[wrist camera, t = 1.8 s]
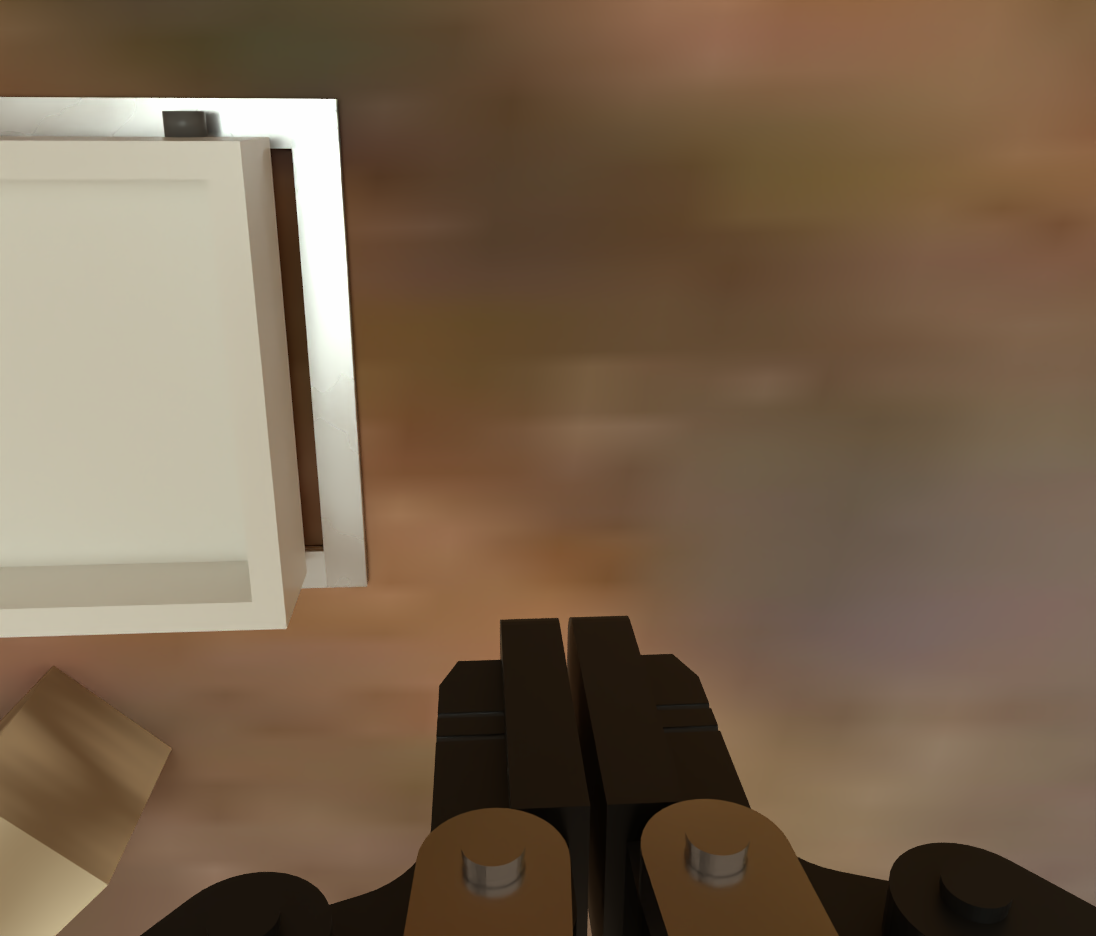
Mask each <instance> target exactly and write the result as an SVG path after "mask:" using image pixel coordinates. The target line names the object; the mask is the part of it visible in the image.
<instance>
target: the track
mask: <svg viewBox="0 0 1096 936" xmlns="http://www.w3.org/2000/svg"><path fill="white" fill-rule="evenodd" d="M162 111H205V116H206V126H207V135H208V137H269V141H270V148H278V149H292V155H293V168H294V181H295V193H296V206H297V218H298V231H299V244H300V256H301V269H302V281H303V294H304V307H305V319H306V332H307V344H308V357H309V370H310V382H311V395H312V407H313V420H314V433H315V445H316V458H317V470H318V483H319V496H320V508H321V521H322V533H323V546H305V557H306V569H307V574H306V576H305V579H304V582H303V585H302V588H331V587H367V584H368V567H367V552H366V536H365V520H364V504H363V488H362V472H361V457H360V441H359V425H358V409H357V393H356V377H355V362H354V346H353V330H352V314H351V298H350V283H349V267H348V251H347V235H346V219H345V203H344V188H343V172H342V156H341V140H340V124H339V108H338V99H232V98H70V97H0V136H108V137H165V134H164V126H163V117H162Z"/></svg>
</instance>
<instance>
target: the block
mask: <svg viewBox="0 0 1096 936" xmlns="http://www.w3.org/2000/svg"><path fill="white" fill-rule="evenodd" d="M171 749H172V748H171V747H169V746H168V745H166V744H165V743H163V742H162V741H161V740H159V739H158V738H156V737H155V736H153V735H152V734H151V733H149V732H148V731H146V730H145V729H143V728H142V727H141V726H139V725H138V724H136V723H135V722H133V721H132V720H131V719H129V718H128V717H126V716H125V715H123V714H122V713H121V712H119V711H118V710H116V709H115V708H113V707H112V706H111V705H109V704H108V703H106V702H105V701H103V700H102V699H101V698H99V697H98V696H96V695H95V694H93V693H92V692H90V691H89V690H88V689H86V688H85V687H83V686H82V685H80V684H79V683H78V682H76V681H75V680H73V679H72V678H70V677H69V676H68V675H66V674H65V673H63V672H62V671H60V670H59V669H58V668H56V667H55V666H53V667H52V668H51V669H50V670H49V671H48V672H47V673H46V674H45V675H44V676H43V677H42V678H41V679H40V680H39V681H38V682H37V684H36V685H35V686H34V687H33V688H32V689H31V690H30V691H29V692H28V693H27V694H26V695H25V696H24V697H23V698H22V699H21V700H20V701H19V702H18V703H17V704H16V705H15V707H14V708H13V709H12V710H11V711H10V712H9V713H8V714H7V715H6V716H5V717H4V718H3V719H2V720H1V721H0V936H55V935H56V934H57V933H58V932H59V931H61V930H62V929H63V928H64V927H65V926H66V925H67V924H68V923H69V922H70V921H71V920H72V919H73V918H74V917H75V916H76V915H77V914H78V913H79V912H80V911H81V910H82V909H83V908H85V907H86V906H87V905H88V904H89V903H90V902H91V901H92V900H93V899H94V898H95V897H96V896H97V895H98V894H99V893H100V892H101V891H102V890H103V889H104V888H105V887H106V886H107V885H108V884H109V882H110V880H111V878H112V875H113V873H114V871H115V869H116V867H117V865H118V863H119V860H120V858H121V856H122V854H123V852H124V850H125V848H126V846H127V843H128V841H129V839H130V837H131V835H132V833H133V831H134V828H135V826H136V824H137V822H138V820H139V818H140V816H141V813H142V811H143V809H144V807H145V805H146V803H147V801H148V799H149V796H150V794H151V792H152V790H153V788H154V786H155V784H156V781H157V779H158V777H159V775H160V773H161V771H162V769H163V766H164V764H165V762H166V760H167V758H168V756H169V754H170V752H171Z"/></svg>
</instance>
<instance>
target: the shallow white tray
mask: <svg viewBox="0 0 1096 936" xmlns="http://www.w3.org/2000/svg"><path fill="white" fill-rule="evenodd" d="M162 117H163V126H164V134H165V137H108V136H0V637H33V636H66V635H99V634H132V633H165V632H198V631H232V630H265V629H287V627H288V624H289V621H290V618H291V616H292V613H293V610H294V607H295V604H296V602H297V599H298V596H299V593H300V590H301V588H302V585H303V582H304V579H305V576H306V574H307V569H306V557H305V546H304V534H303V523H302V511H301V499H300V488H299V476H298V465H297V453H296V442H295V430H294V419H293V407H292V396H291V384H290V372H289V361H288V349H287V338H286V326H285V315H284V303H283V292H282V280H281V268H280V257H279V245H278V234H277V222H276V211H275V199H274V188H273V176H272V164H271V153H270V141H269V137H208V135H207V126H206V116H205V111H162Z"/></svg>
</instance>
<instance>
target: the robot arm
mask: <svg viewBox="0 0 1096 936" xmlns="http://www.w3.org/2000/svg"><path fill="white" fill-rule="evenodd" d="M588 911H589V918H590V925H591V932H592V936H1096V907H1095V906H1093V905H1091V904H1089V903H1087V902H1086V901H1084V900H1082V899H1080V898H1078V897H1076V896H1075V895H1073V894H1071V893H1069V892H1067V891H1065V890H1063V889H1062V888H1060V887H1058V886H1056V885H1054V884H1052V883H1050V882H1049V881H1047V880H1045V879H1043V878H1041V877H1039V876H1038V875H1036V874H1034V873H1032V872H1030V871H1028V870H1026V869H1025V868H1023V867H1021V866H1019V865H1017V864H1015V863H1013V862H1012V861H1010V860H1008V859H1006V858H1003V857H1001V856H999V855H997V854H995V853H992V852H989V851H986V850H984V849H980V848H977V847H973V846H969V845H963V844H956V843H930V844H925V845H921V846H917V847H915V848H912V849H910V850H908V851H906V852H905V853H903V854H902V855H901V856H899V858H898V859H897V860H896V861H895V862H894V864H893V866H892V868H891V871H890V876H889V881H885V880H880V879H875V878H870V877H865V876H860V875H855V874H850V873H845V872H839V871H835V870H831V869H827V868H823V867H820V866H818V865H815V864H812V863H809V862H807V861H805V860H803V859H801V858H798V857H797V856H796V854H795V852H794V850H793V848H792V847H791V845H790V843H789V841H788V839H787V838H786V836H785V835H784V833H783V832H782V831H781V830H780V829H779V828H778V827H777V826H776V825H775V824H774V823H773V822H772V821H770V820H769V819H768V818H766V817H765V816H763V815H761V814H760V813H758V812H756V811H754V810H752V809H751V808H750V805H749V803H748V800H747V798H746V795H745V792H744V790H743V787H742V785H741V782H740V780H739V777H738V775H737V772H736V770H735V767H734V765H733V762H732V760H731V757H730V755H729V752H728V750H727V747H726V745H725V742H724V740H723V737H722V735H721V732H720V731H718V724H717V722H716V719H715V717H714V714H713V712H712V709H711V708H709V702H708V699H707V697H706V694H705V692H704V689H703V687H702V684H701V682H700V679H699V677H698V676H697V675H696V674H695V673H694V672H693V671H692V670H690V669H689V668H688V667H687V666H686V665H685V664H683V663H682V662H681V661H680V660H679V659H678V658H676V657H675V656H674V655H673V654H659V655H640V652H639V648H638V645H637V642H636V638H635V635H634V632H633V629H632V625H631V622H630V619H629V617H628V616H602V617H570V618H569V623H568V652H567V665H566V659H565V653H564V647H563V641H562V635H561V629H560V623H559V619H558V618H541V619H508V620H500V660H482V661H458V662H457V663H456V665H455V666H454V667H453V669H452V670H451V671H450V673H449V674H448V675H447V676H446V678H445V679H444V680H443V682H442V683H441V684H440V685H439V702H438V719H437V742H436V754H435V771H434V788H433V806H432V823H431V833H430V834H429V835H428V837H427V838H426V839H425V840H424V842H423V844H422V845H421V847H420V849H419V852H418V856H417V860H416V862H415V864H414V865H413V866H412V867H411V868H410V869H408V870H407V871H406V872H405V873H404V874H403V875H401V876H400V877H398V878H397V879H395V880H394V881H392V882H391V883H389V884H387V885H385V886H383V887H381V888H379V889H377V890H374V891H371V892H369V893H366V894H363V895H360V896H357V897H354V898H350V899H347V900H344V901H341V902H337V903H334V904H331V905H329V904H328V902H327V900H326V898H325V896H324V895H323V894H322V893H321V892H320V891H319V889H318V888H317V887H315V886H314V885H312V884H311V883H310V882H308V881H306V880H304V879H302V878H299V877H297V876H293V875H290V874H286V873H277V872H257V873H249V874H243V875H239V876H235V877H231V878H229V879H226V880H223V881H221V882H218V883H216V884H214V885H212V886H210V887H208V888H206V889H204V890H202V891H201V892H199V893H198V894H196V895H194V896H193V897H191V898H190V899H189V900H187V901H186V902H185V903H183V904H182V905H181V906H179V907H178V908H177V909H175V910H174V911H173V912H171V913H170V914H169V915H167V916H166V917H165V918H163V919H162V920H161V921H159V922H158V923H156V924H155V925H154V926H152V927H151V928H150V929H148V930H147V931H146V932H144V933H143V934H142V935H140V936H587V919H588Z"/></svg>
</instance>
